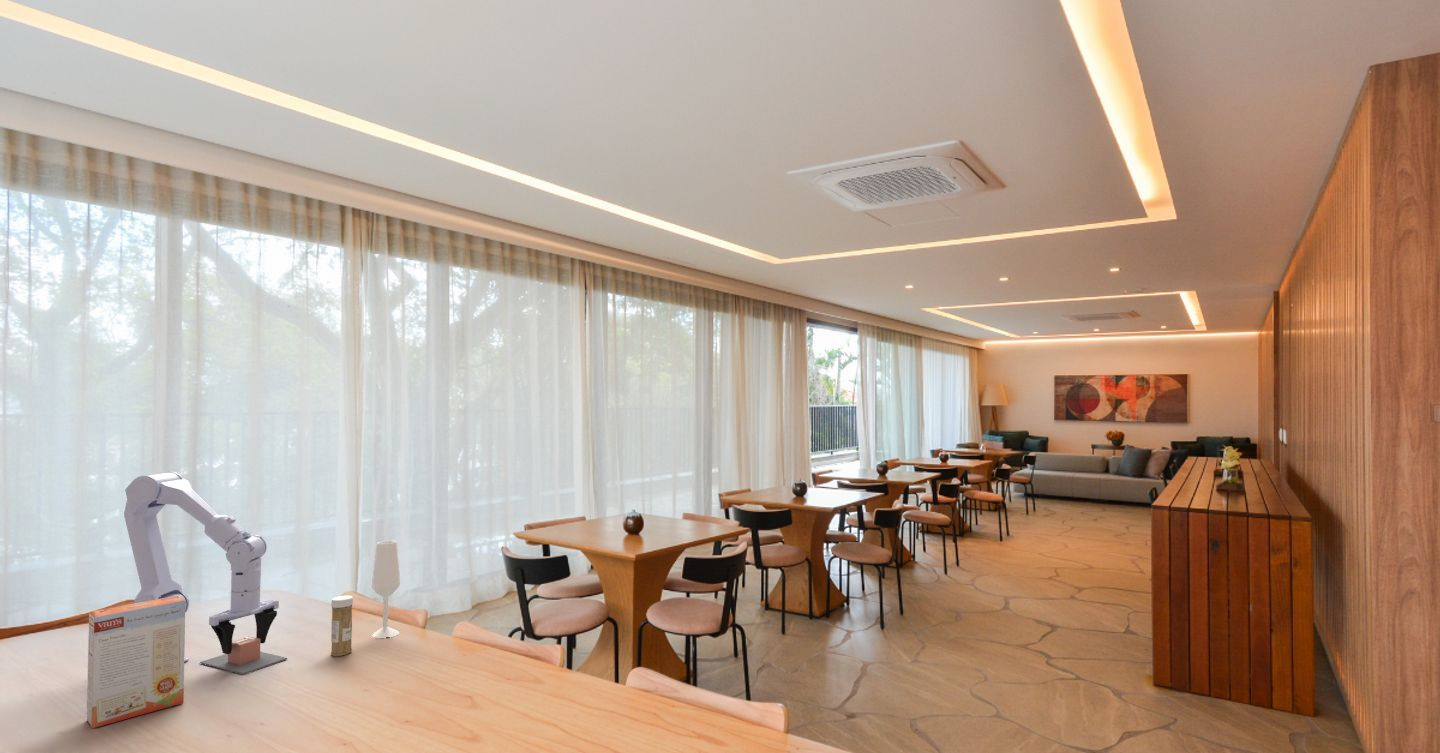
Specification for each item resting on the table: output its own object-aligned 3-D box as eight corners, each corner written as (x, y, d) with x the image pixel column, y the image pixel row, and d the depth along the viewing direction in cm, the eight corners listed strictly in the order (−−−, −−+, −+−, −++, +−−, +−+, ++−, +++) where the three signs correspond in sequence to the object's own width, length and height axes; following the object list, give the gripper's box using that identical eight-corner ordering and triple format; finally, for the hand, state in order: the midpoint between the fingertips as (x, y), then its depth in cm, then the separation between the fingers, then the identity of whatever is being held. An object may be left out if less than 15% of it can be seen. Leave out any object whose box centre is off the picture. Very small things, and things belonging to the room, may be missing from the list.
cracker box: (176, 696, 141) (179, 594, 142) (184, 704, 137) (187, 599, 138) (84, 720, 130) (88, 609, 131) (90, 730, 126) (94, 615, 127)
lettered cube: (227, 661, 159) (228, 641, 159) (247, 655, 163) (248, 635, 163) (240, 664, 157) (240, 644, 157) (260, 658, 161) (260, 638, 161)
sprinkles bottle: (352, 654, 164) (353, 598, 165) (331, 658, 162) (332, 601, 162) (350, 648, 168) (352, 593, 169) (329, 652, 166) (330, 596, 166)
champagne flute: (364, 637, 176) (366, 543, 177) (384, 629, 183) (386, 538, 184) (385, 639, 174) (387, 545, 175) (405, 631, 181) (406, 540, 182)
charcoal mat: (199, 663, 158) (200, 661, 159) (244, 649, 168) (245, 647, 168) (242, 674, 152) (242, 673, 152) (287, 659, 161) (287, 657, 161)
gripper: (223, 599, 152) (221, 661, 152) (287, 583, 165) (285, 640, 165) (204, 595, 155) (202, 656, 155) (268, 580, 168) (267, 636, 168)
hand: (244, 647), depth 160 cm, fingers open, 7 cm apart
